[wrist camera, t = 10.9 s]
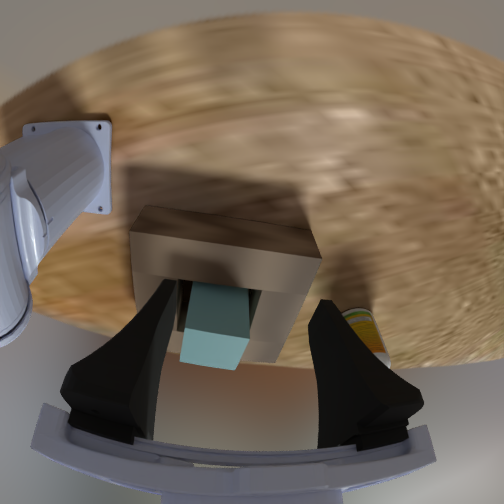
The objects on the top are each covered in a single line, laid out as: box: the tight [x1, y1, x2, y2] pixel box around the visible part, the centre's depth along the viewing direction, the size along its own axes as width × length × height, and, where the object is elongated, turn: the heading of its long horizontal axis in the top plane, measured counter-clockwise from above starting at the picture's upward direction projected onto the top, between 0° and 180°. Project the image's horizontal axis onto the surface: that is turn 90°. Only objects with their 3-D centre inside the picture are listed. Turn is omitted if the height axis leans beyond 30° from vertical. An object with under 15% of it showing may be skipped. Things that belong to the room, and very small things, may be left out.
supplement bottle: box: [342, 308, 391, 369], centre depth 27 cm, size 5×5×10 cm
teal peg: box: [180, 281, 250, 370], centre depth 23 cm, size 5×5×8 cm
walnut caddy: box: [129, 206, 322, 363], centre depth 25 cm, size 14×14×4 cm
